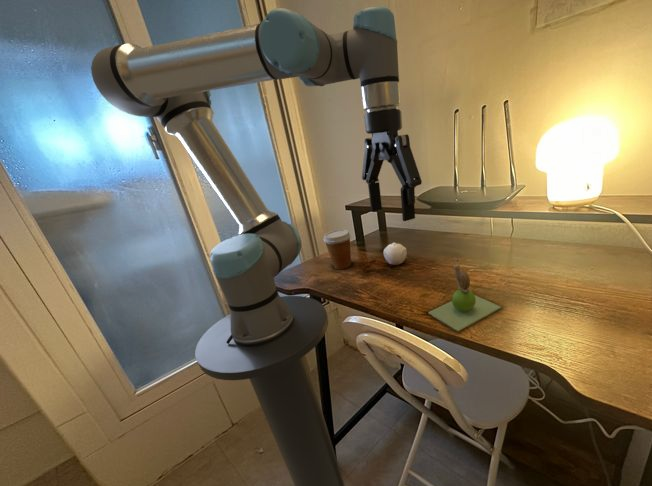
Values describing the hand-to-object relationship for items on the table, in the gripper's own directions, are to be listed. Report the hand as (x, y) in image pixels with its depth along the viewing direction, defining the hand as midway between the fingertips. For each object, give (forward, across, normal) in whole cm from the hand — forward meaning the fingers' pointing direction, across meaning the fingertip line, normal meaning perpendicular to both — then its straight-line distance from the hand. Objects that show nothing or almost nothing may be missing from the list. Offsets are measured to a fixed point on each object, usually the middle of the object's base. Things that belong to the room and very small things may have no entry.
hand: (391, 214), depth 70 cm
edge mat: (+23, -14, -9) cm, 29 cm away
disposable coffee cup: (+24, +36, 0) cm, 43 cm away
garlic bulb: (+24, +22, -14) cm, 35 cm away
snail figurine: (+23, -14, -9) cm, 28 cm away
